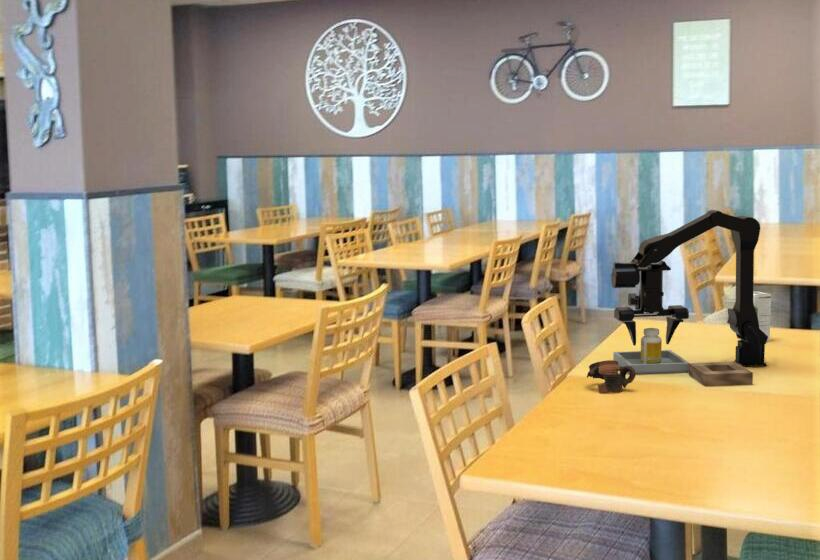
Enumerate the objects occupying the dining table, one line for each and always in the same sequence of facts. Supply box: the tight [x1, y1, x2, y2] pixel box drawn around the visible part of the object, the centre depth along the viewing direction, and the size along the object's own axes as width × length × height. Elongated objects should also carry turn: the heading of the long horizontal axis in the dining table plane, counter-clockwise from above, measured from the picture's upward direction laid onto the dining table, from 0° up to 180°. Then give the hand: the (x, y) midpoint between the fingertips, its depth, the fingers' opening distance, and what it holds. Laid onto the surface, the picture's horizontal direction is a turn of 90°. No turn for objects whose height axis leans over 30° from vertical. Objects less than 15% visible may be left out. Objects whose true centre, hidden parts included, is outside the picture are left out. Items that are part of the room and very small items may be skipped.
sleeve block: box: [688, 361, 754, 387], centre depth 247 cm, size 12×12×3 cm
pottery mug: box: [586, 359, 637, 394], centre depth 241 cm, size 12×10×8 cm
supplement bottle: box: [640, 327, 663, 364], centre depth 261 cm, size 5×5×10 cm
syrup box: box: [753, 291, 772, 343], centre depth 290 cm, size 6×6×14 cm
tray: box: [612, 349, 690, 376], centre depth 262 cm, size 16×16×2 cm
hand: (650, 344), depth 261 cm, fingers open, 9 cm apart
